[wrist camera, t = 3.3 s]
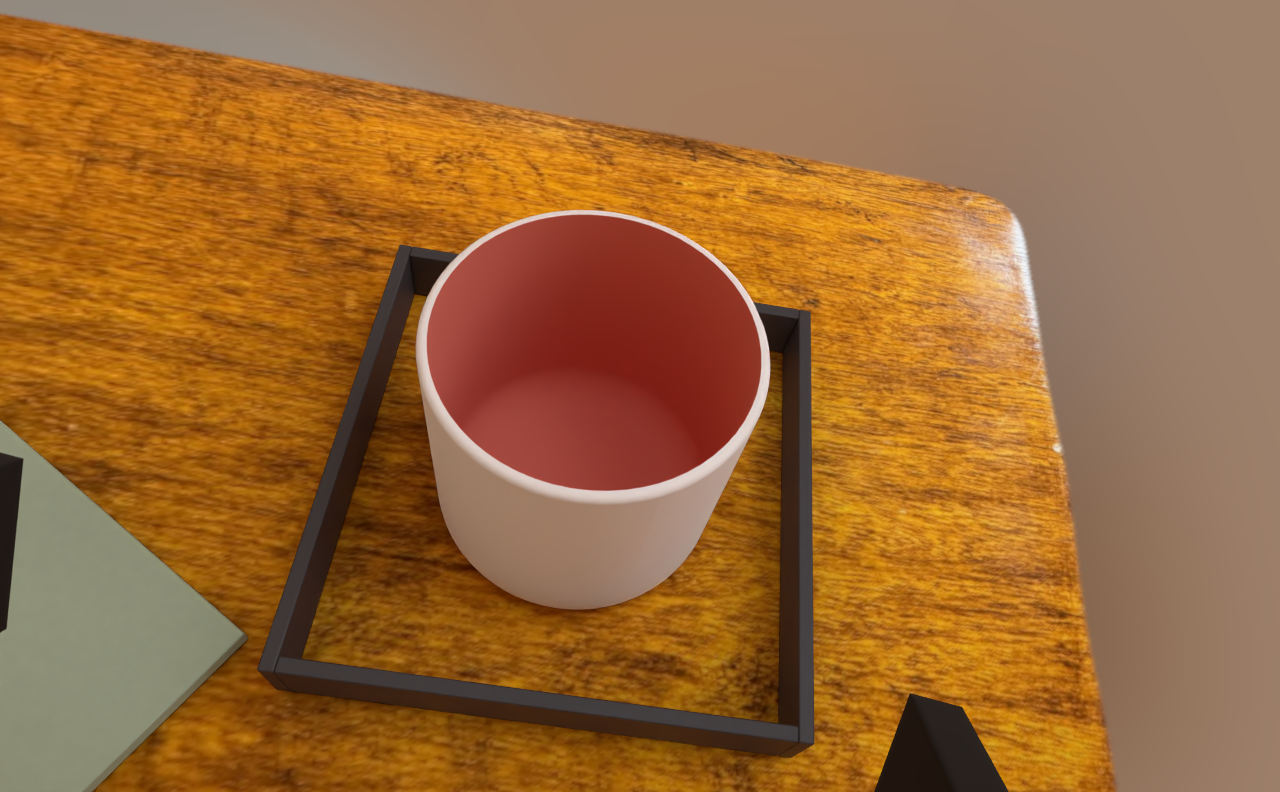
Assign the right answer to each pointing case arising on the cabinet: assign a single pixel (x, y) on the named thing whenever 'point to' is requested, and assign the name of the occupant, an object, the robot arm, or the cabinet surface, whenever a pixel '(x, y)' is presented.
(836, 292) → the cabinet surface
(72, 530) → the mat
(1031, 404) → the cabinet surface
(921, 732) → the robot arm
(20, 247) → the cabinet surface
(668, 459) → the cup
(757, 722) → the square frame
